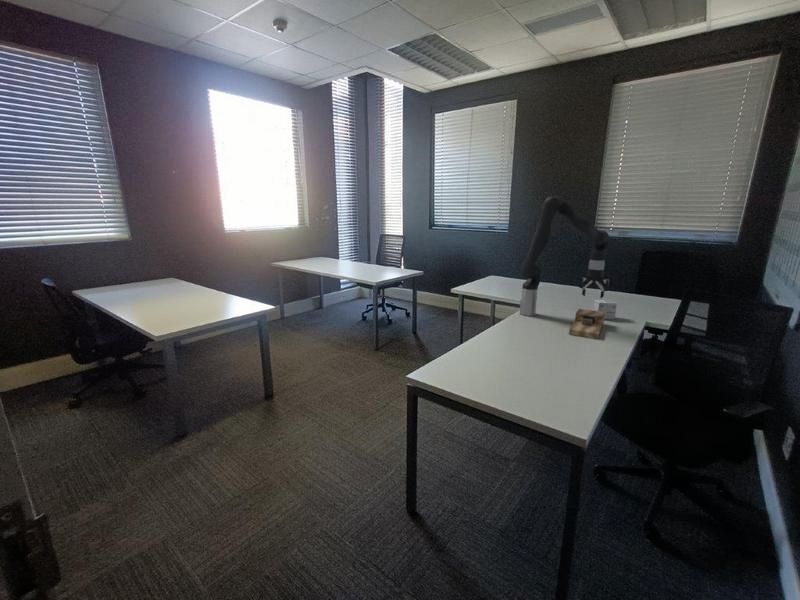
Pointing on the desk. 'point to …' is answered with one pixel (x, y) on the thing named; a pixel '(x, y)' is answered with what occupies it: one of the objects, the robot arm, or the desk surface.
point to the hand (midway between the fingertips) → (592, 296)
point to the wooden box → (585, 329)
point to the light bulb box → (606, 308)
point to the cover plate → (588, 320)
